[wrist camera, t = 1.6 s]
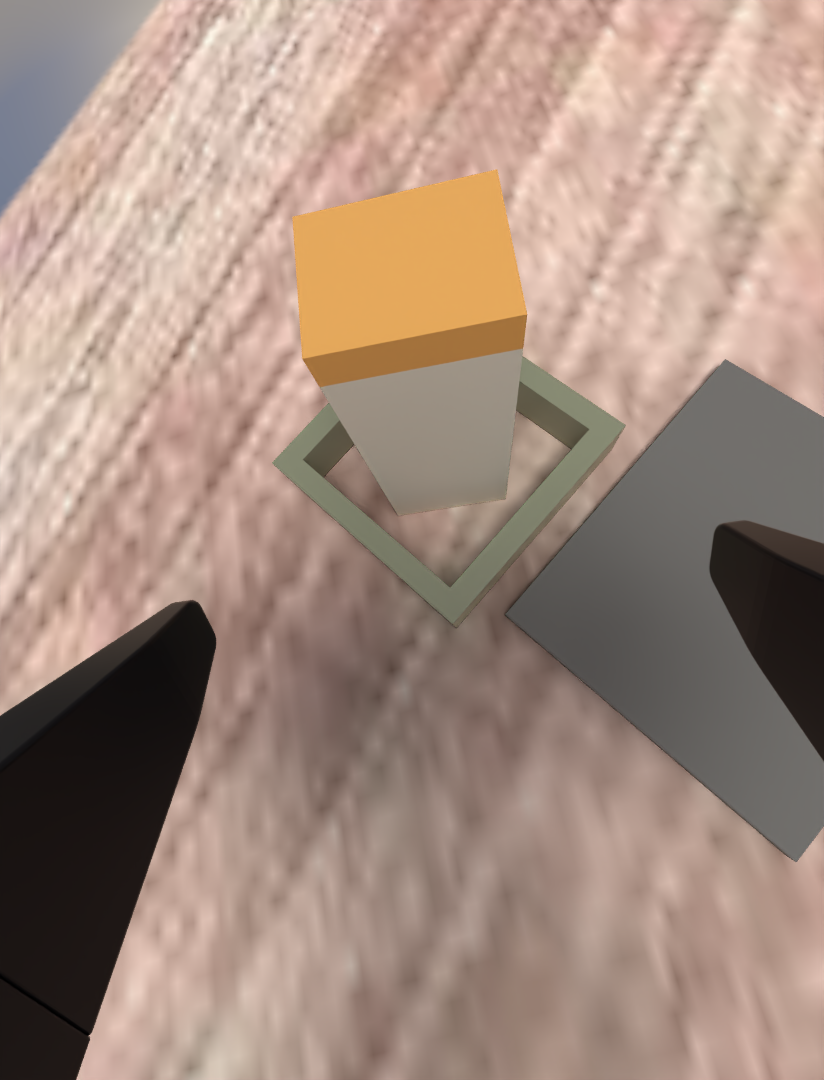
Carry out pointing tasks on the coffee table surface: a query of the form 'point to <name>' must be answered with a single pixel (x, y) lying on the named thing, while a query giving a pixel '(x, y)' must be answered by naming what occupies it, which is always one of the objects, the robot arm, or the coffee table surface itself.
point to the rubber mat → (695, 599)
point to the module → (418, 336)
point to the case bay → (590, 444)
